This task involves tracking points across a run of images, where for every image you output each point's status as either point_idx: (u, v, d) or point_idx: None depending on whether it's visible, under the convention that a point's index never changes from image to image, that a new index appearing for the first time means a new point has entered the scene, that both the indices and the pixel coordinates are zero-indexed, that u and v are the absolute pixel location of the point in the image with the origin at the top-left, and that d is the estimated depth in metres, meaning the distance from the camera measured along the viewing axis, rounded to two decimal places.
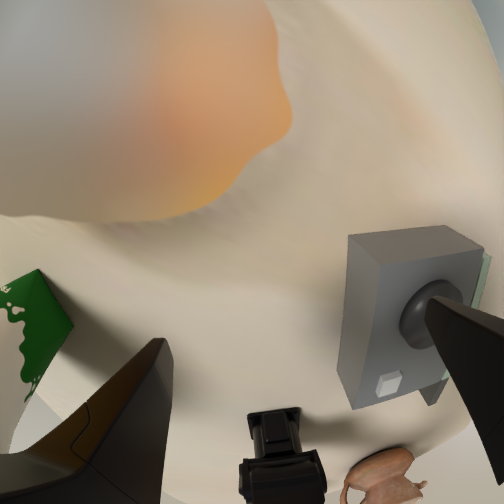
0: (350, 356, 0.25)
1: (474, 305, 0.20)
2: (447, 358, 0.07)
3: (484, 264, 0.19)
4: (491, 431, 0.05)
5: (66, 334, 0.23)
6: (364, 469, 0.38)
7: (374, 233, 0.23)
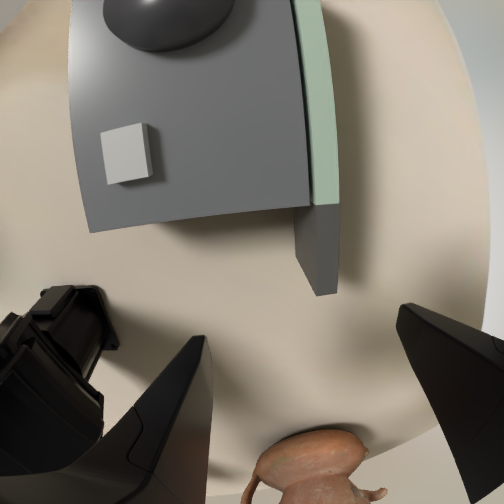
0: None
1: (307, 5, 0.09)
2: (418, 369, 0.07)
3: None
4: (462, 449, 0.05)
5: None
6: (274, 455, 0.27)
7: None
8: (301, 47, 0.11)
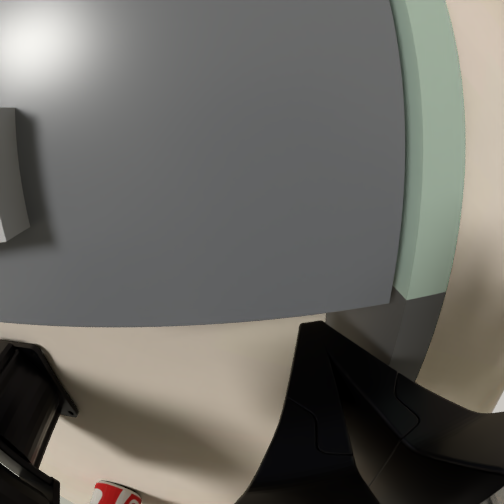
0: None
1: None
2: None
3: None
4: None
5: None
6: None
7: None
8: None
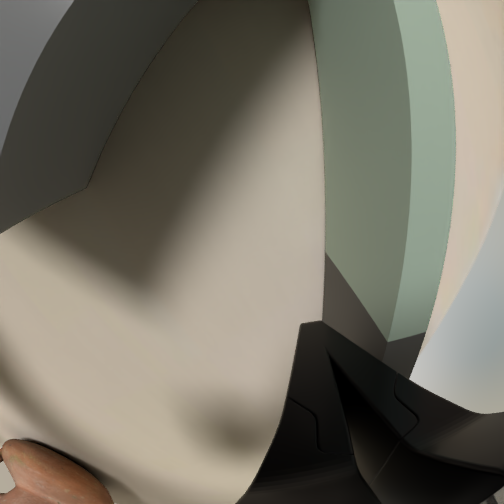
0: None
1: None
2: None
3: None
4: None
5: None
6: (14, 451, 0.15)
7: None
8: None
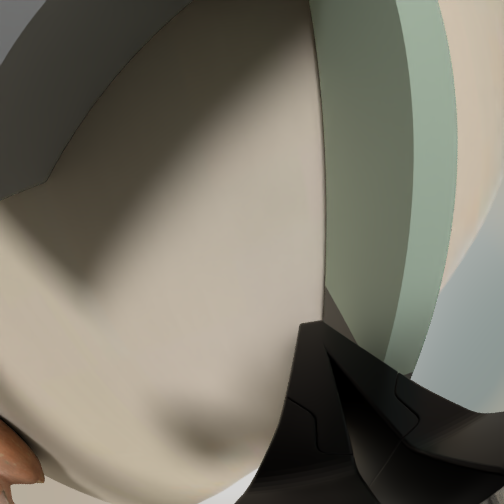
0: None
1: None
2: None
3: None
4: None
5: None
6: None
7: None
8: (396, 57, 0.04)
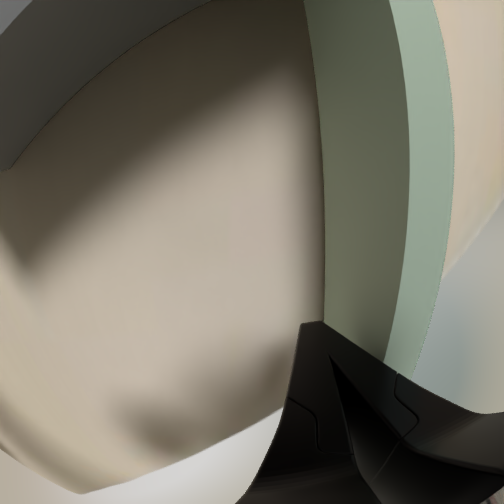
0: None
1: (421, 51, 0.04)
2: None
3: None
4: None
5: None
6: None
7: None
8: (399, 166, 0.05)
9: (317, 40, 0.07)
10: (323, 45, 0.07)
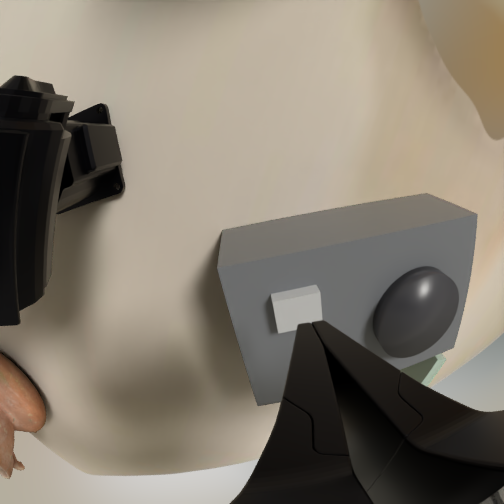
0: (306, 229, 0.16)
1: None
2: None
3: (436, 365, 0.18)
4: None
5: None
6: (0, 367, 0.20)
7: None
8: None
9: None
10: None
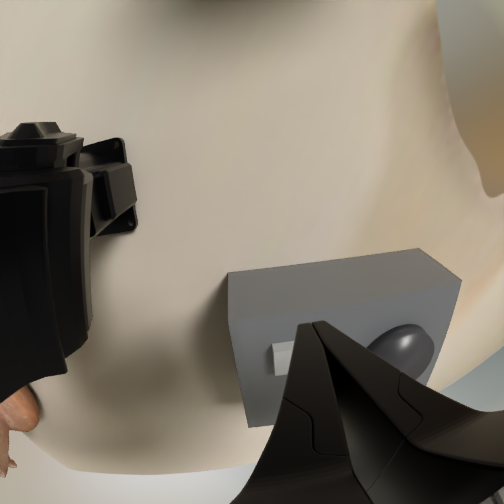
0: (307, 284, 0.18)
1: None
2: None
3: None
4: None
5: None
6: None
7: None
8: None
9: None
10: None
